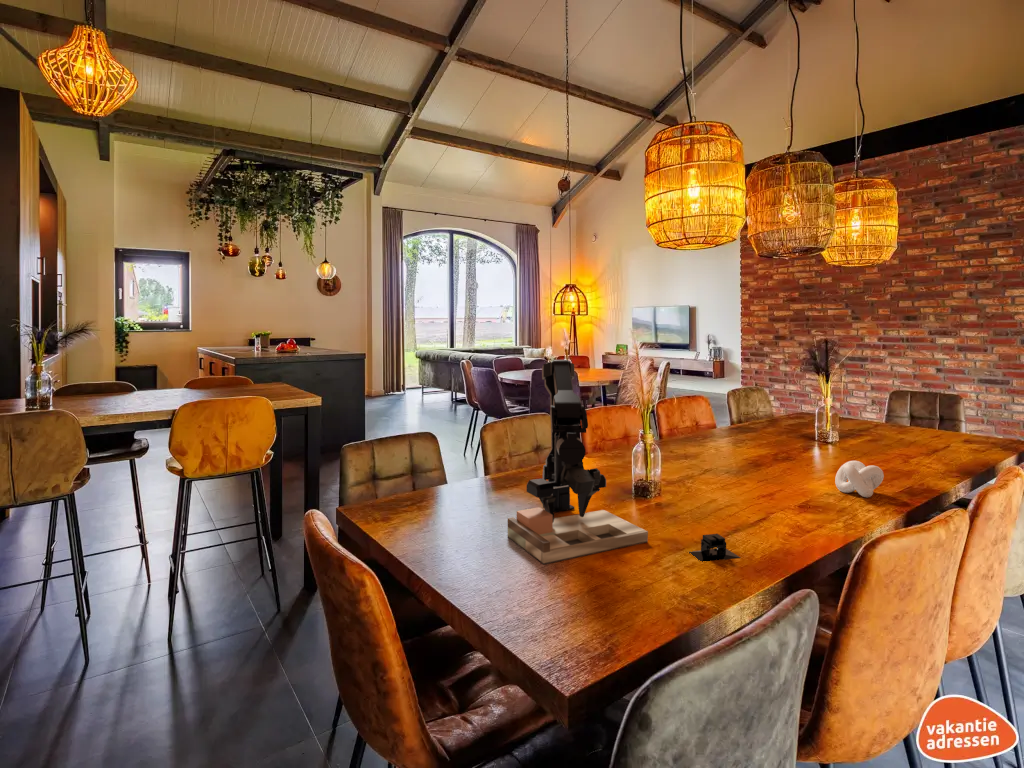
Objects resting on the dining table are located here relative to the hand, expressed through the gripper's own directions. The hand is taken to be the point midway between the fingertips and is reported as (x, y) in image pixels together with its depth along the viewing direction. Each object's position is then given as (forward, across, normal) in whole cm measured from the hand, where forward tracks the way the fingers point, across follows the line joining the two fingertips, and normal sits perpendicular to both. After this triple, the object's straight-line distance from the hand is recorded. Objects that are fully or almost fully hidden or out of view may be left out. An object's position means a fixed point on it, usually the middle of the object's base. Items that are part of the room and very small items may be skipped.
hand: (566, 519), depth 131 cm
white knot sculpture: (+4, +93, -10) cm, 94 cm away
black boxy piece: (+4, +22, -24) cm, 33 cm away
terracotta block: (+1, -9, 0) cm, 9 cm away
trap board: (+4, 0, -4) cm, 5 cm away
